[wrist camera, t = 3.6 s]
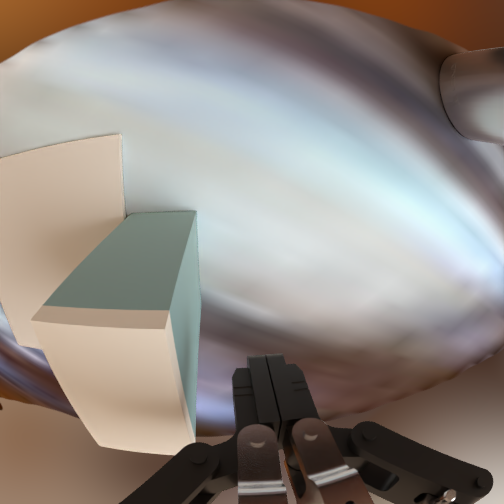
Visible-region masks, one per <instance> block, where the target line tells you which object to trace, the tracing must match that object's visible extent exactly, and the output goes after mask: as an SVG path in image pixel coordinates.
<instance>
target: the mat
mask: <svg viewBox="0 0 504 504" xmlns="http://www.w3.org/2000/svg"><path fill="white" fill-rule="evenodd" d="M125 219H126V212H125V200H124V186H123V166H122V134H117V135H109V136H102V137H95V138H89V139H83V140H77V141H71V142H66V143H61V144H56V145H51V146H47V147H42V148H38V149H34V150H30V151H26V152H22V153H18V154H14V155H11V156H7V157H4V158H0V301H1V304H2V307H3V309H4V312H5V315H6V317H7V320H8V322H9V324H10V327H11V329H12V331H13V334H14V336H15V338H16V340H17V342H18V345H21V346H26V347H32V348H37V349H42V348H41V346H40V343H39V341H38V339H37V336H36V334H35V332H34V329H33V327H32V324H31V322H30V320H31V319H32V317H33V316H34V315H35V314H36V312H37V311H38V310H39V309H40V308H41V306H42V305H43V304H44V303H45V302H46V300H47V299H48V298H49V297H50V296H51V295H52V293H53V292H54V291H55V290H56V289H57V288H58V287H59V286H60V284H61V283H62V282H63V281H64V280H65V279H66V278H67V277H68V276H69V275H70V273H71V272H72V271H73V270H74V269H75V268H76V267H77V266H78V265H79V264H80V263H81V262H82V261H83V260H84V259H85V258H86V257H87V256H88V255H89V254H90V253H91V252H92V251H93V250H94V249H95V248H96V247H97V246H98V245H99V244H100V243H101V242H102V241H103V240H104V239H105V238H106V237H107V236H108V235H109V234H110V233H111V232H112V231H113V230H114V229H115V228H116V227H117V226H118V225H119V224H121V223H122V222H123V221H124V220H125Z"/></svg>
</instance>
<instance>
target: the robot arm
mask: <svg viewBox="0 0 504 504" xmlns="http://www.w3.org/2000/svg"><path fill="white" fill-rule="evenodd" d="M440 92H441V96H442V101H443V104H444V107H445V110H446V112H447V114H448V117H449V119H450V121H451V122H452V124H453V125H454V127H455V128H456V129H457V130H458V131H459V133H460V134H461V135H463V136H464V137H466V138H468V139H470V140H475V141H482V142H488V143H494V144H499V145H504V47H502V48H493V49H485V50H477V51H471V52H465V53H459V54H454V55H451V56H449V57H447V58H446V59H445V60H444V62H443V64H442V66H441V71H440ZM232 387H233V404H234V414H235V424H236V432H235V434H234V435H233V437H232V438H230V439H229V440H228V441H226V442H223V443H221V444H218V445H214V446H210V445H208V444H206V443H200V442H199V443H191V444H188V445H186V446H185V447H183V448H182V449H181V450H180V451H179V452H178V453H177V454H176V455H175V456H174V457H173V458H172V459H171V460H170V461H168V462H167V463H166V464H165V465H164V466H163V467H162V468H161V469H160V470H159V471H157V472H156V473H155V474H154V475H153V476H152V477H150V478H149V479H148V480H147V481H146V482H145V483H144V484H142V485H141V486H140V487H139V488H138V489H136V490H135V491H134V492H133V493H132V494H130V495H129V496H128V497H127V498H125V499H124V500H123V501H122V502H120V503H119V504H211V503H212V502H213V501H214V500H215V498H216V497H217V496H218V495H219V494H220V493H221V492H222V491H224V490H227V489H230V488H233V487H235V486H238V504H288V499H287V492H286V488H285V485H284V484H283V481H282V474H281V466H280V457H279V449H283V450H284V454H285V459H284V466H285V469H286V472H287V475H288V478H289V481H290V483H291V487H292V489H293V493H294V495H295V498H296V504H374V502H373V500H372V498H371V496H370V494H369V492H371V493H373V494H375V495H377V496H379V497H381V498H383V499H385V500H388V501H390V502H392V503H394V504H474V503H475V502H477V501H478V500H480V499H481V498H483V497H484V496H485V495H487V494H488V493H489V492H490V490H491V489H492V486H493V478H492V475H491V473H490V472H489V471H488V470H486V469H483V468H480V467H477V466H475V465H472V464H469V463H466V462H463V461H461V460H458V459H455V458H453V457H450V456H448V455H445V454H443V453H441V452H438V451H436V450H433V449H431V448H429V447H426V446H424V445H422V444H419V443H417V442H415V441H413V440H411V439H408V438H406V437H404V436H402V435H400V434H398V433H395V432H393V431H391V430H389V429H387V428H385V427H383V426H381V425H379V424H377V423H375V422H370V421H365V422H361V423H359V424H357V425H356V426H355V427H354V428H353V429H348V428H334V427H331V426H329V425H327V424H326V423H324V422H323V421H322V420H321V419H320V418H319V416H318V413H317V410H316V407H315V405H314V402H313V399H312V396H311V394H310V391H309V389H308V385H307V383H306V380H305V377H304V374H303V372H302V370H301V369H300V368H299V367H298V366H297V365H296V364H287V365H286V363H285V360H284V357H283V354H282V353H281V354H269V355H256V356H247V368H236V370H235V372H234V374H233V377H232ZM368 491H369V492H368Z"/></svg>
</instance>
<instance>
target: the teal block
mask: <svg viewBox="0 0 504 504" xmlns="http://www.w3.org/2000/svg"><path fill="white" fill-rule="evenodd" d="M200 315H201V293H200V278H199V260H198V238H197V211H171V212H145V213H131V214H130V215H129V216H128V217H127V218H126V219H125V220H124V221H123V222H122V223H121V224H119V225H118V226H117V227H116V228H115V229H114V230H113V231H112V232H111V233H110V234H109V235H108V236H107V237H106V238H105V239H104V240H103V241H102V242H101V243H100V244H99V245H98V246H97V247H96V248H95V249H94V250H93V251H92V252H91V253H90V254H89V255H88V256H87V257H86V258H85V259H84V260H83V261H82V262H81V263H80V264H79V265H78V266H77V267H76V268H75V269H74V270H73V271H72V272H71V273H70V275H69V276H68V277H67V278H66V279H65V280H64V281H63V282H62V283H61V284H60V286H59V287H58V288H57V289H56V290H55V291H54V292H53V293H52V295H51V296H50V297H49V298H48V299H47V300H46V302H45V303H44V304H43V305H42V306H41V308H40V309H39V310H38V311H37V312H36V314H35V315H34V316H33V317H32V319H31V320H30V322H31V324H32V327H33V329H34V332H35V334H36V336H37V339H38V341H39V343H40V346H41V348H42V350H43V352H44V354H45V356H46V358H47V361H48V363H49V365H50V367H51V369H52V371H53V373H54V374H55V376H56V378H57V380H58V382H59V384H60V386H61V387H62V389H63V391H64V393H65V394H66V396H67V398H68V400H69V401H70V403H71V405H72V406H73V408H74V409H75V411H76V413H77V414H78V416H79V417H80V419H81V420H82V422H83V423H84V425H85V426H86V428H87V429H88V431H89V432H90V434H91V435H92V436H93V438H94V439H95V440H96V442H97V443H98V445H99V446H102V447H108V448H114V449H121V450H128V451H134V452H144V453H153V454H165V455H176V454H177V453H178V452H179V451H180V450H181V449H182V448H183V447H185V446H186V445H188V444H191V443H195V426H196V390H197V366H198V347H199V330H200Z"/></svg>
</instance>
